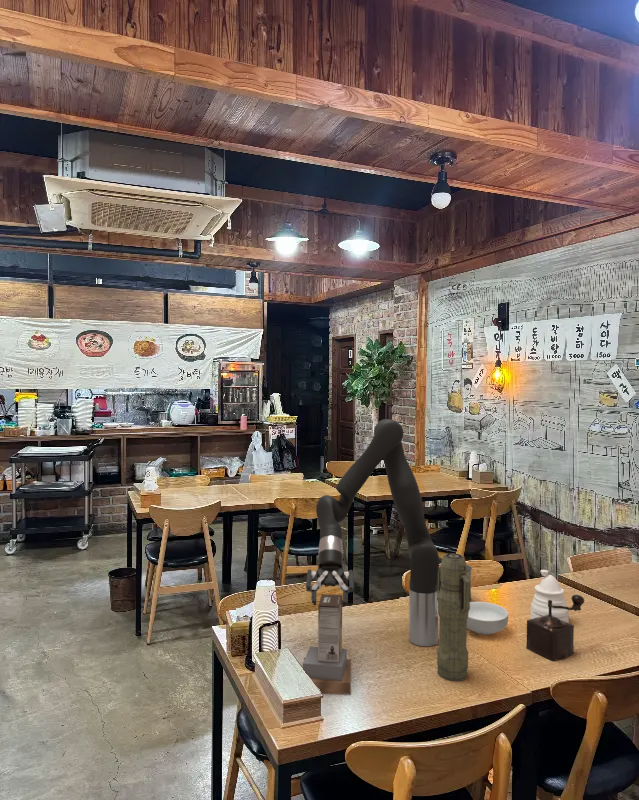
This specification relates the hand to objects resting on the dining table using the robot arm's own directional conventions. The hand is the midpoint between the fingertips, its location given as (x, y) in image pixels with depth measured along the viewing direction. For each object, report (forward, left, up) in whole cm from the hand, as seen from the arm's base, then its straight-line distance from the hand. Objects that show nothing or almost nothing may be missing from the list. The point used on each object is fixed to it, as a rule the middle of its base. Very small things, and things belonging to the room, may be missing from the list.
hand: (329, 604), depth 169 cm
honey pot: (-78, -45, -21) cm, 93 cm away
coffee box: (0, +3, -14) cm, 14 cm away
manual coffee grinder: (-72, -21, -21) cm, 78 cm away
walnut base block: (+1, +3, -22) cm, 22 cm away
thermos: (-36, -3, -21) cm, 42 cm away
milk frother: (-45, -61, -21) cm, 79 cm away
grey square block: (+1, +4, -18) cm, 18 cm away
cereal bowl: (-52, -35, -21) cm, 66 cm away
